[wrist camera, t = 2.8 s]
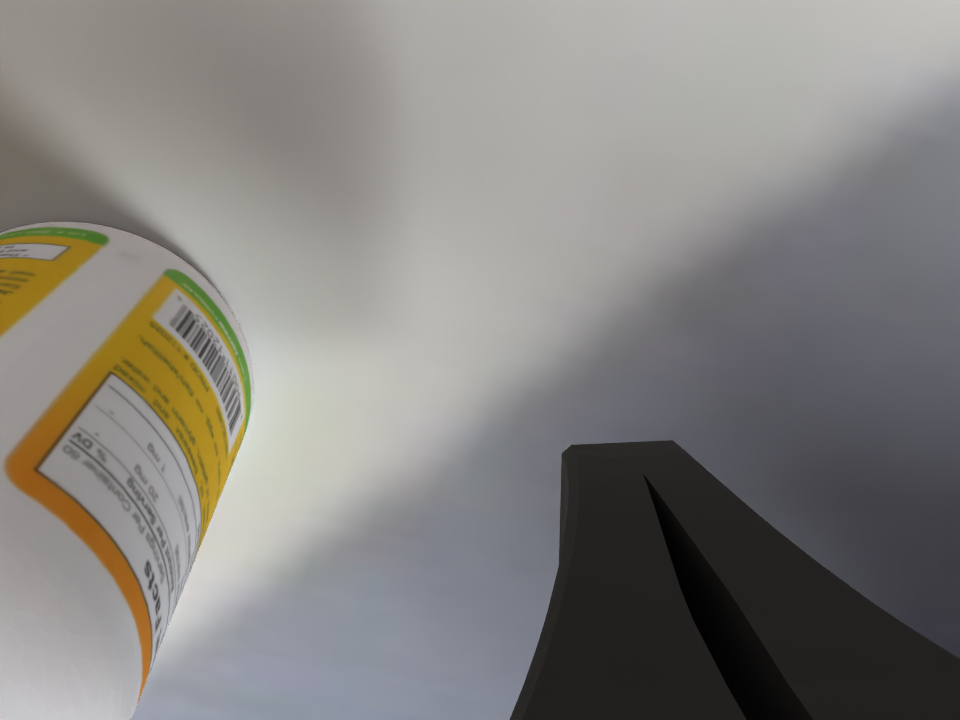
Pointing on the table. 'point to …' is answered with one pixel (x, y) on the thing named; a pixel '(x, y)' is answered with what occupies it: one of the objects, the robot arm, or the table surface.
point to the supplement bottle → (105, 458)
